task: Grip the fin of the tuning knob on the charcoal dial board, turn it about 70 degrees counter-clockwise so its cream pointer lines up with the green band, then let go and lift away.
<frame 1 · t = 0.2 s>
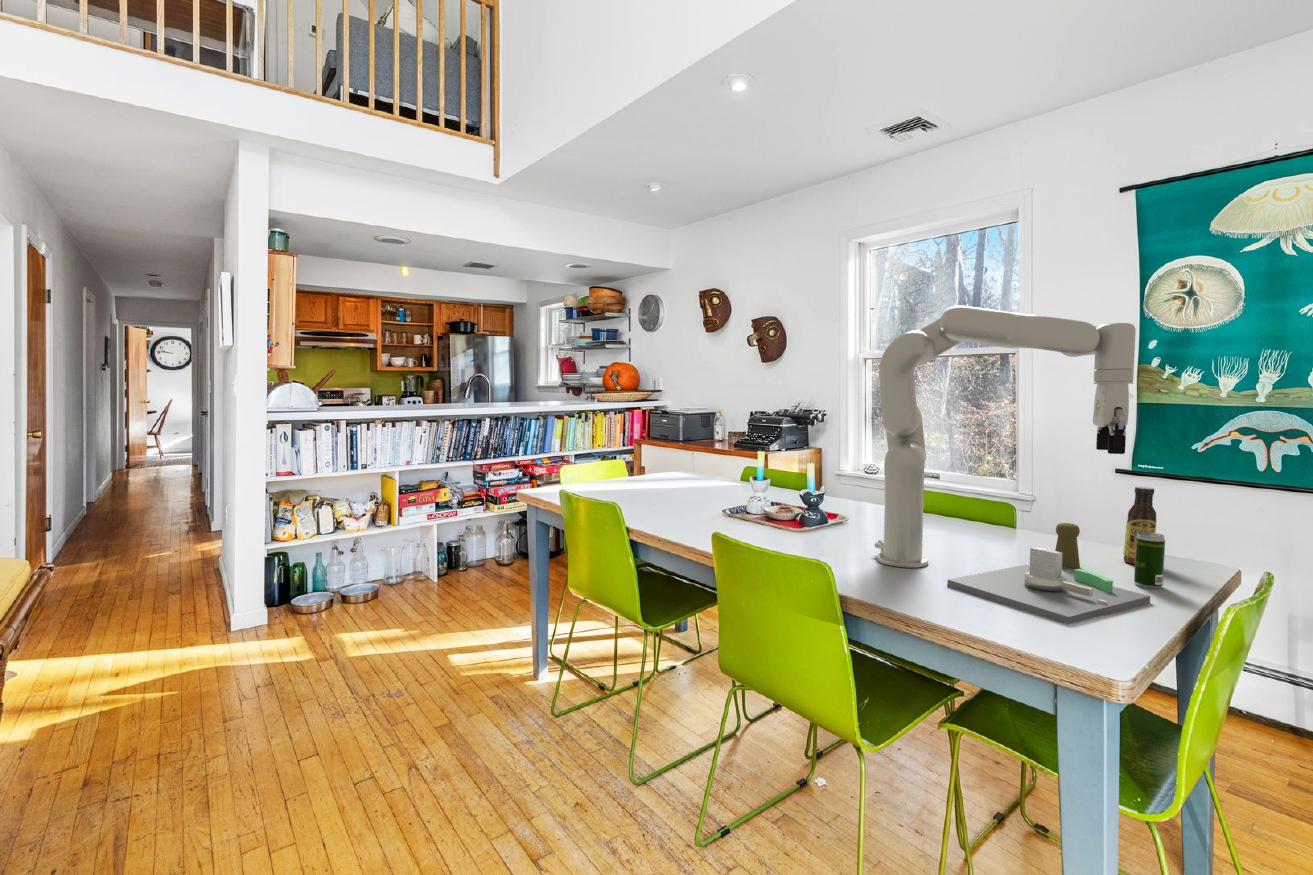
hand: (1110, 451, 154), 31 cm above the table, tool pointing down, fingers open, 9 cm apart
tuning knob: (1058, 571, 144), point 6 cm above the table, hinge at 0.0°
beer can: (1148, 586, 153), on the table
dial board: (1044, 593, 148), on the table
cork: (1066, 566, 170), on the table
sauce bottle: (1138, 564, 172), on the table
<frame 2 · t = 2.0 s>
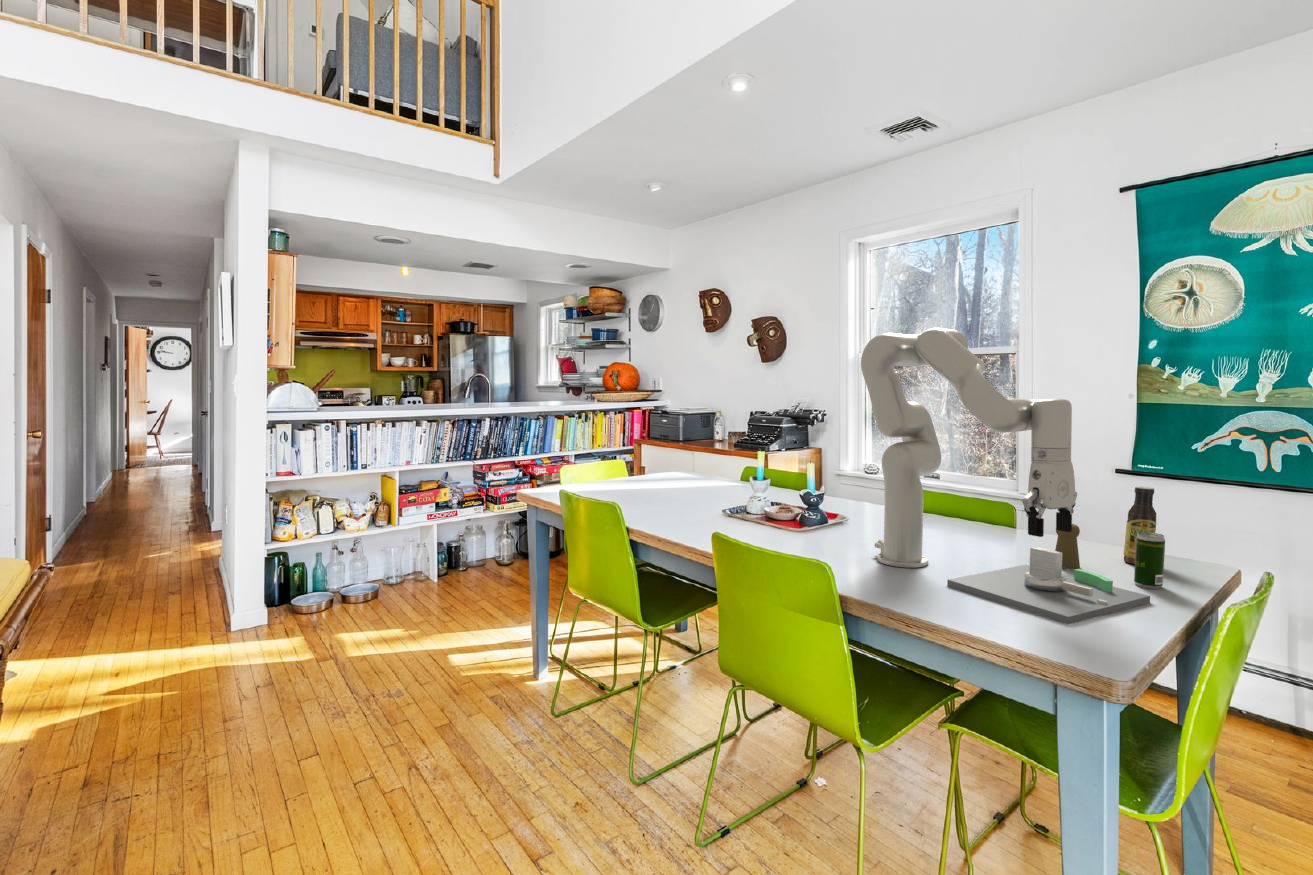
hand: (1049, 533, 146), 14 cm above the table, tool pointing down, fingers open, 9 cm apart
nothing on the table moved.
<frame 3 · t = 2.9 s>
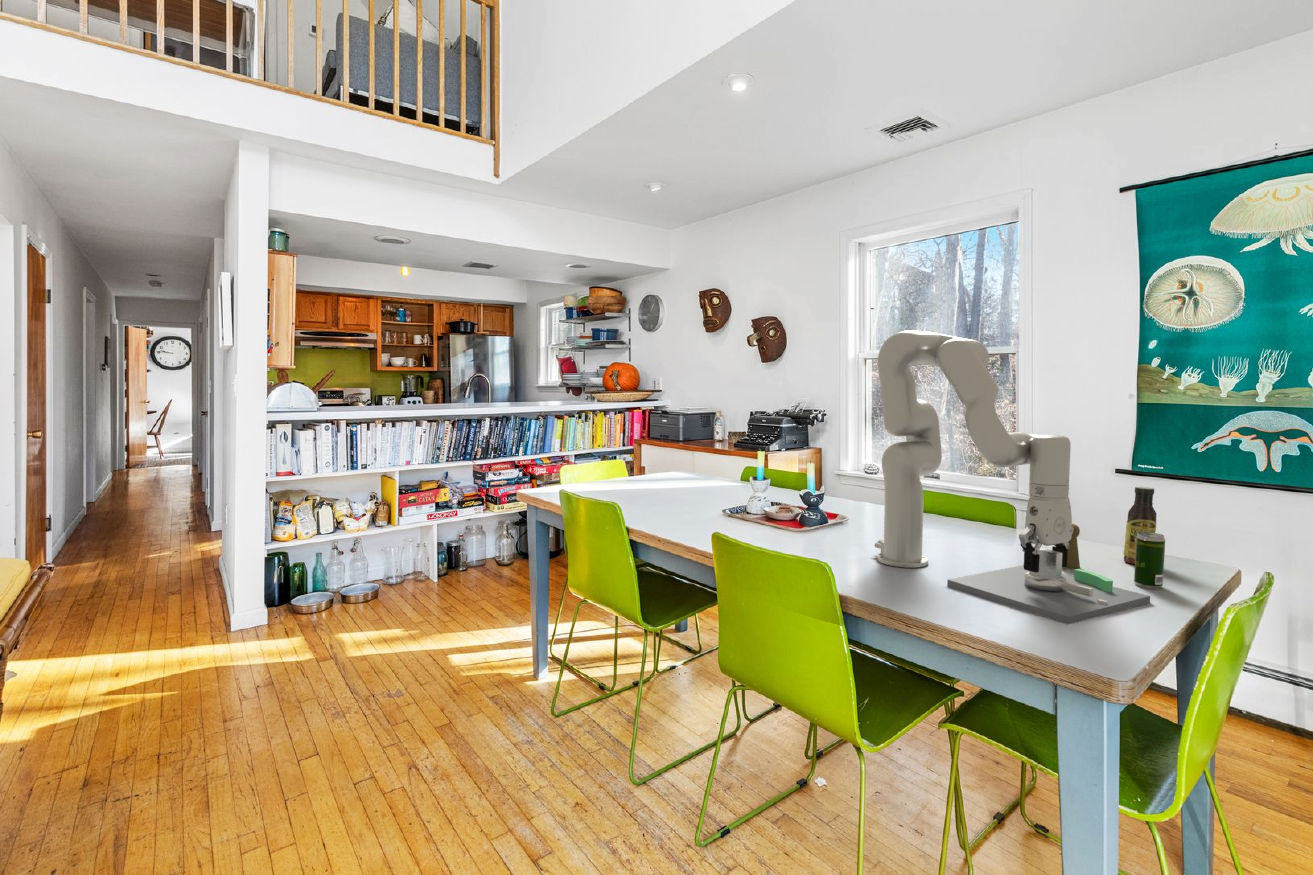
hand: (1045, 568, 147), 6 cm above the table, tool pointing down, fingers open, 9 cm apart
nothing on the table moved.
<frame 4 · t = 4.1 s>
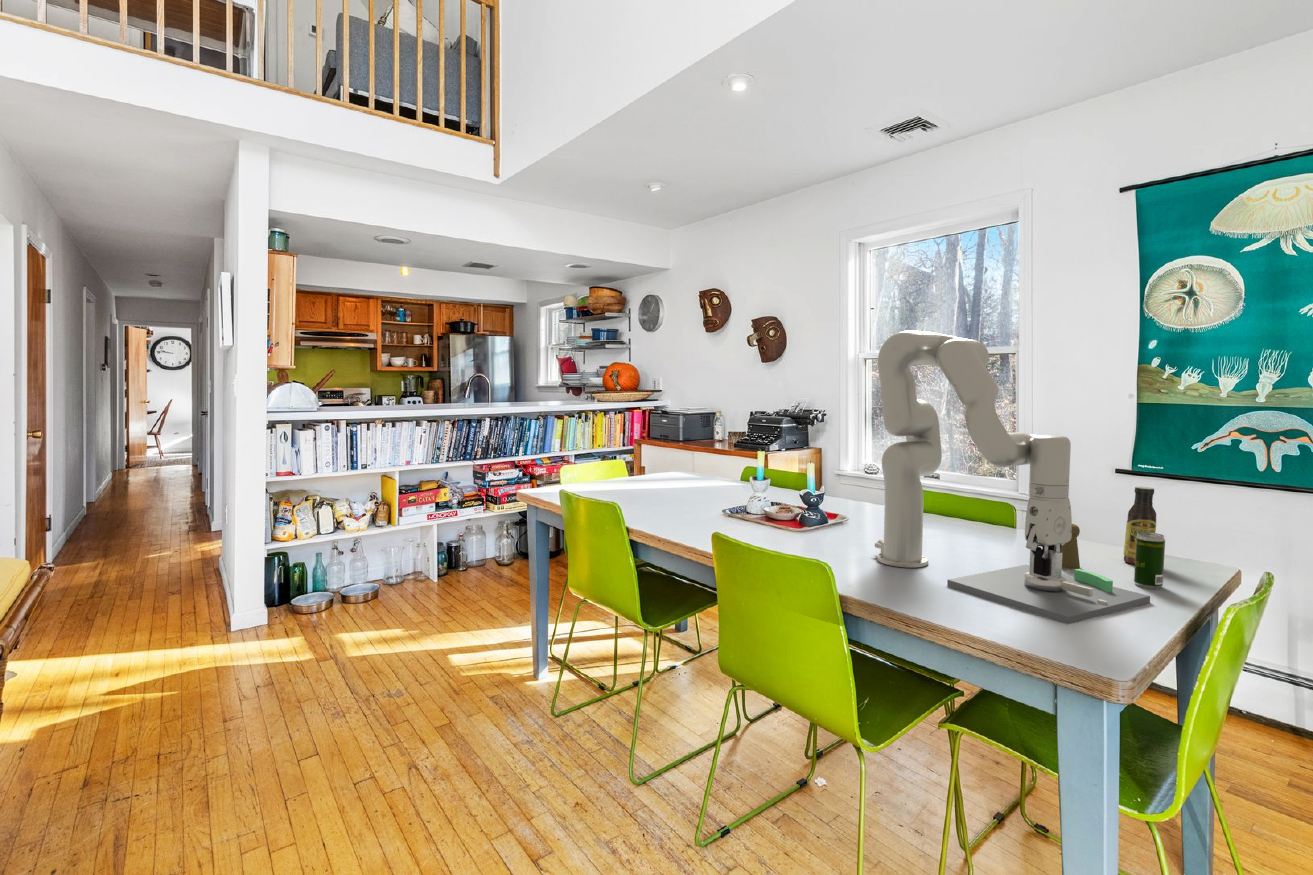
hand: (1045, 573, 147), 5 cm above the table, tool pointing down, fingers closed on tuning knob, 2 cm apart
tuning knob: (1058, 571, 144), point 6 cm above the table, hinge at 0.0°, touching gripper
everything else where it was.
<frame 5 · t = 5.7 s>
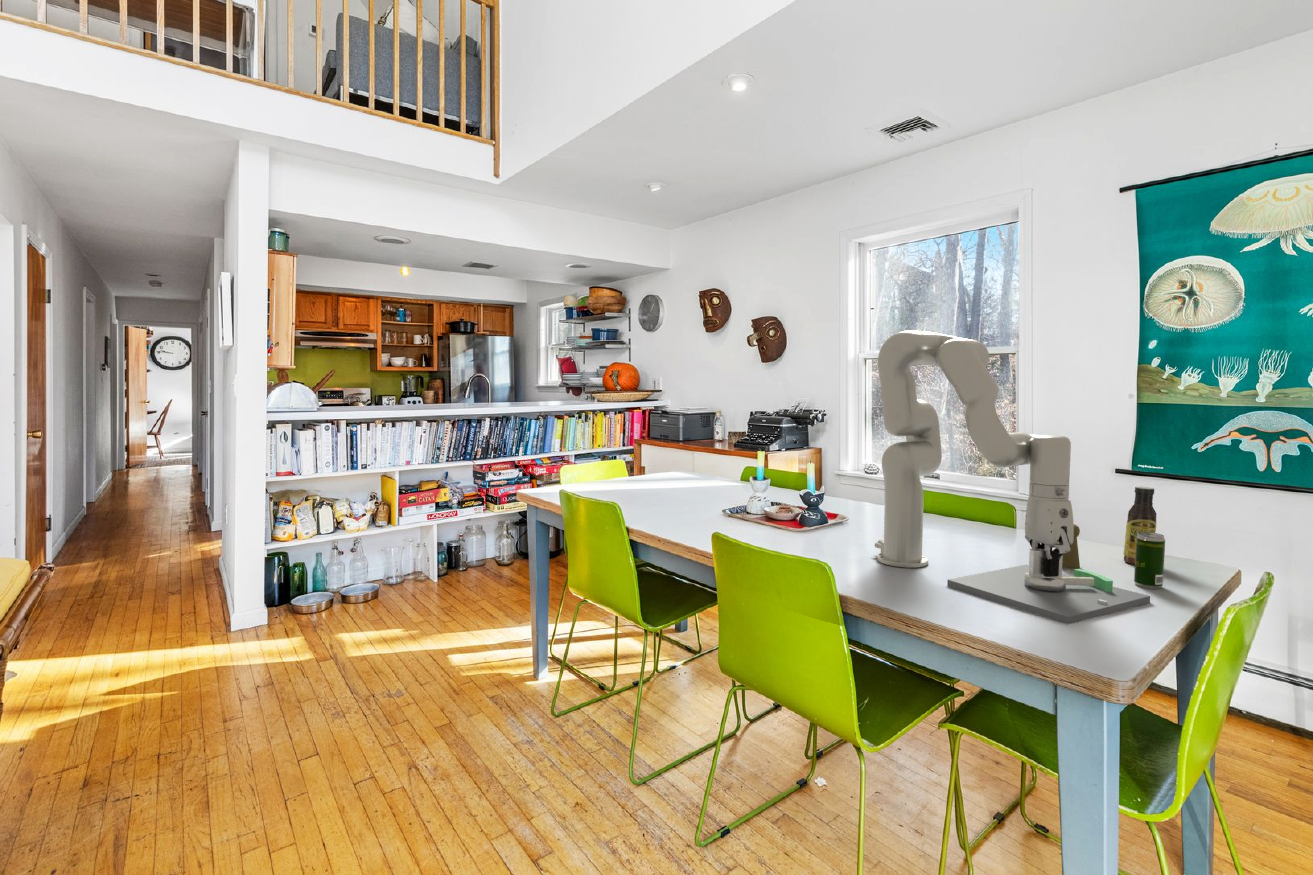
hand: (1045, 573, 147), 5 cm above the table, tool pointing down, fingers closed on tuning knob, 2 cm apart
tuning knob: (1059, 568, 147), point 6 cm above the table, hinge at 57.5°, touching gripper
everything else where it was.
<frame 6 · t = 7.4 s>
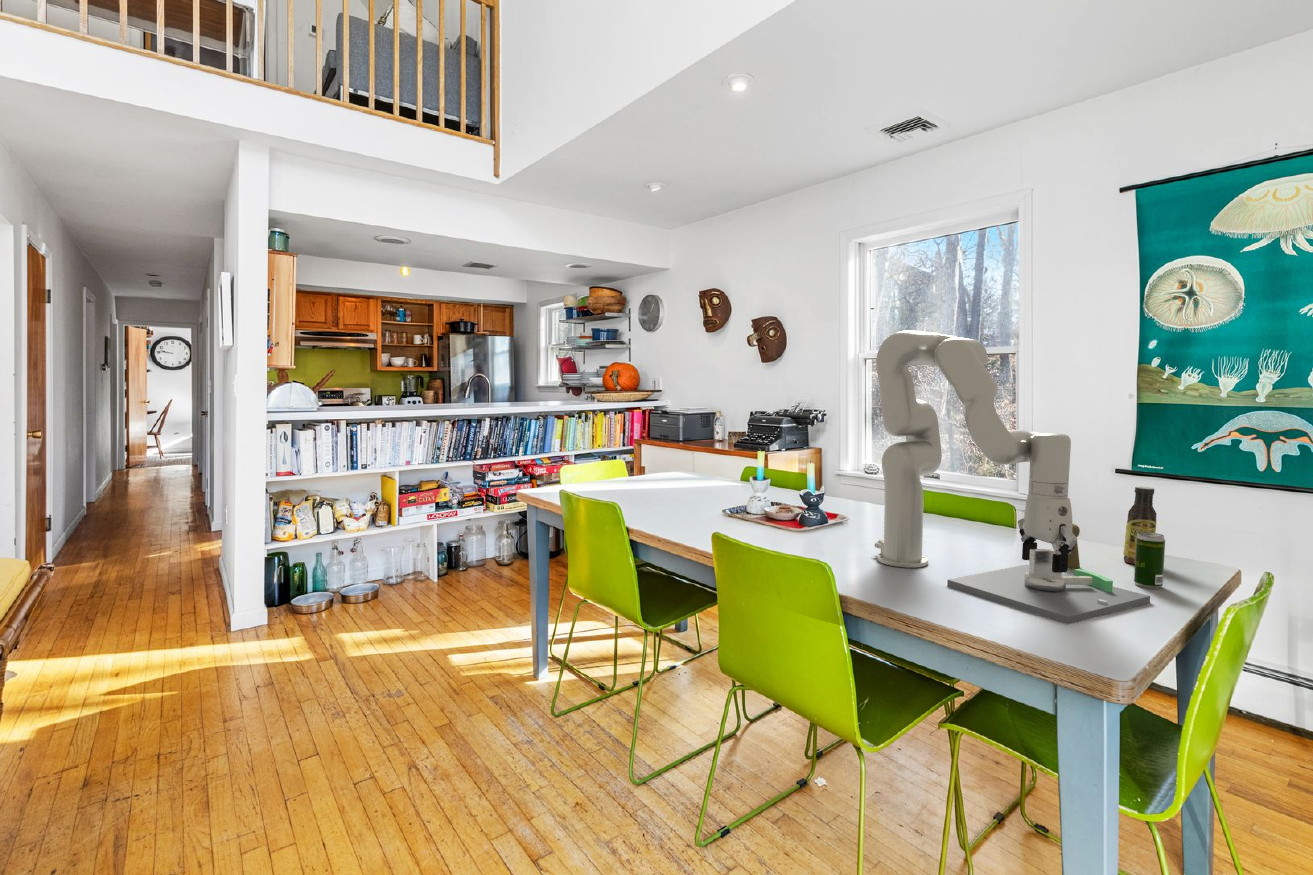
hand: (1043, 565, 147), 6 cm above the table, tool pointing down, fingers open, 9 cm apart
tuning knob: (1059, 567, 147), point 6 cm above the table, hinge at 61.6°
everything else where it was.
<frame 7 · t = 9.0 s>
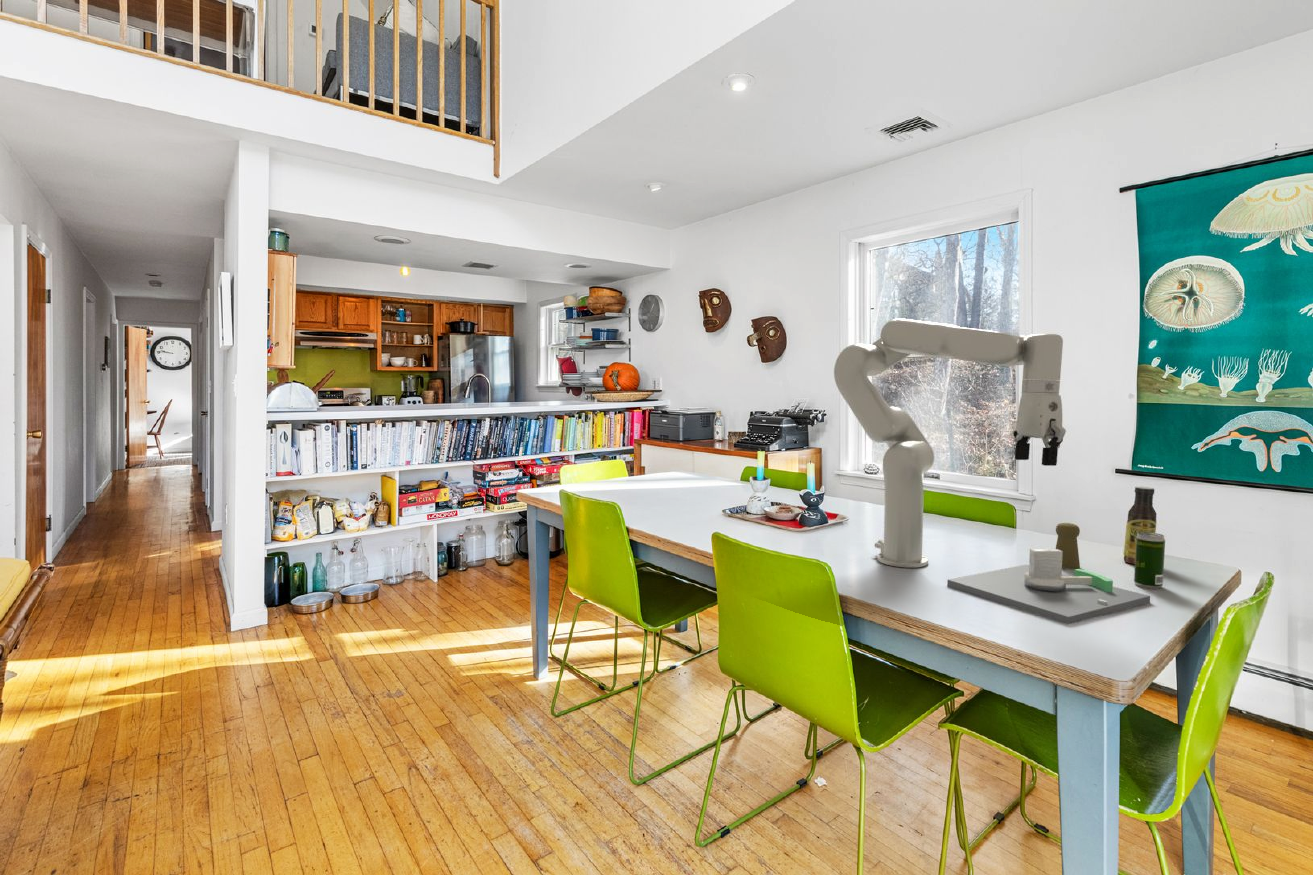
hand: (1034, 462, 154), 28 cm above the table, tool pointing down, fingers open, 9 cm apart
nothing on the table moved.
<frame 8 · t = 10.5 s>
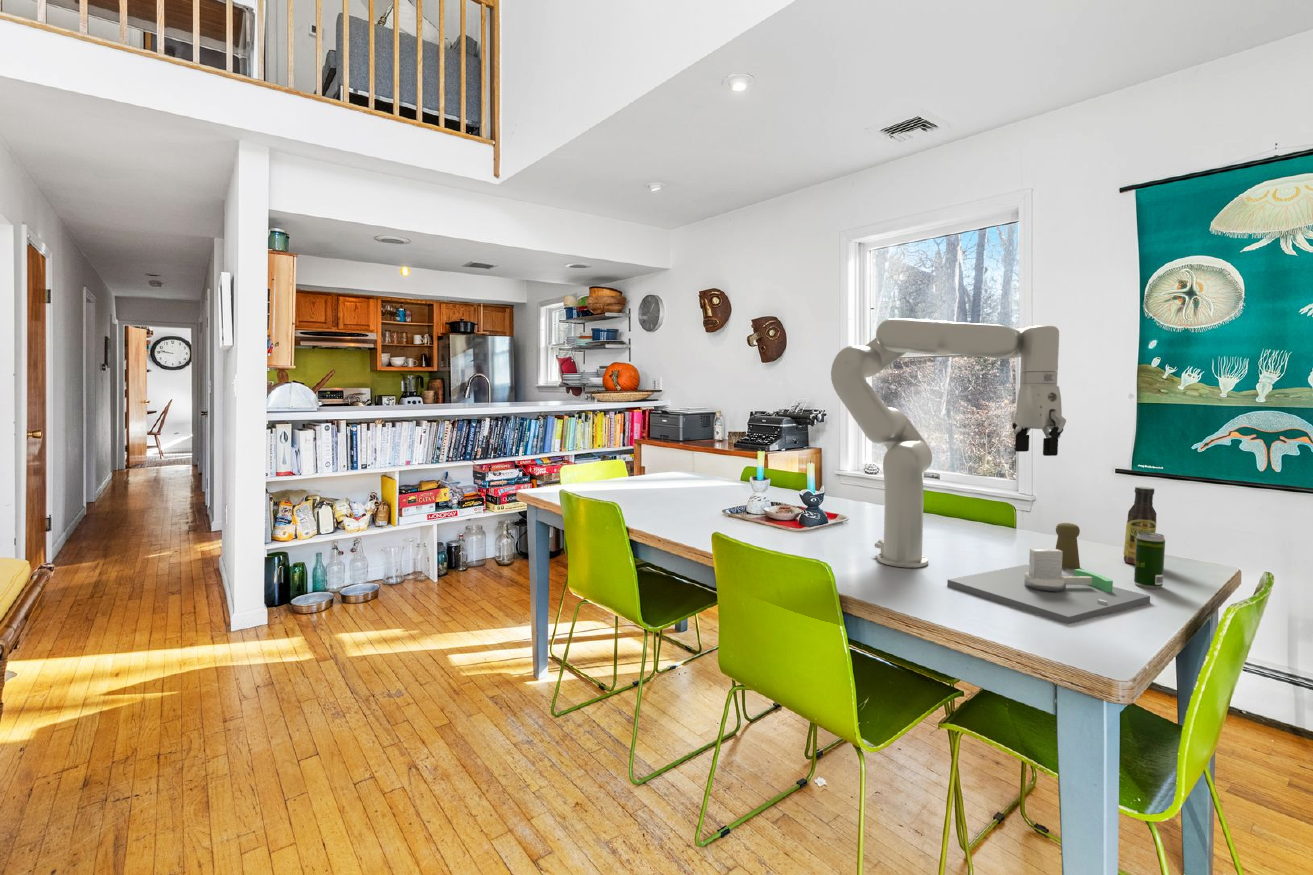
hand: (1035, 453, 155), 30 cm above the table, tool pointing down, fingers open, 9 cm apart
nothing on the table moved.
at the end: tuning knob at +62° (first picture: +0°); the gripper is holding nothing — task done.
